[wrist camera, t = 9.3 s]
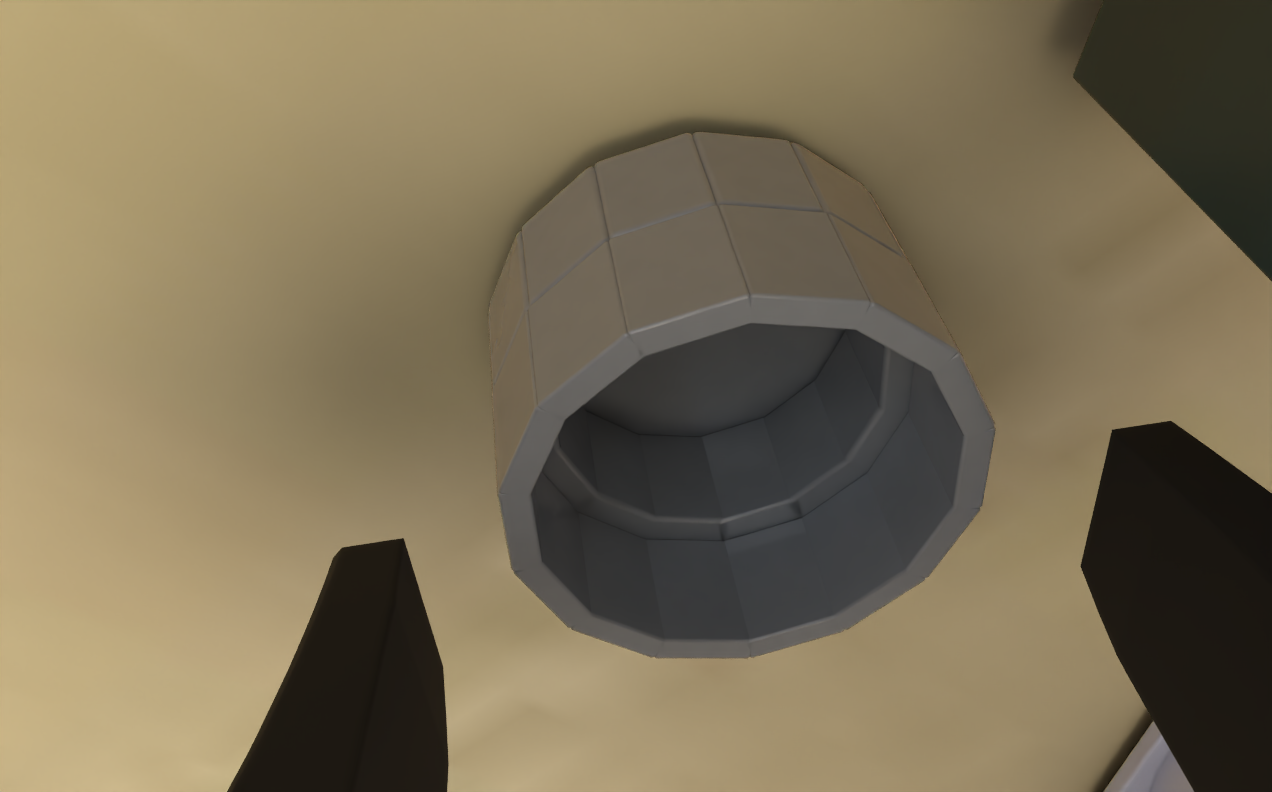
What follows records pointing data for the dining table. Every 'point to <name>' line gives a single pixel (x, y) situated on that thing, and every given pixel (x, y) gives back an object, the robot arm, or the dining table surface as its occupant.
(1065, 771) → the dining table surface
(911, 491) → the grey plastic pail
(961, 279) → the dining table surface
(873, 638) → the dining table surface
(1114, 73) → the drawer
